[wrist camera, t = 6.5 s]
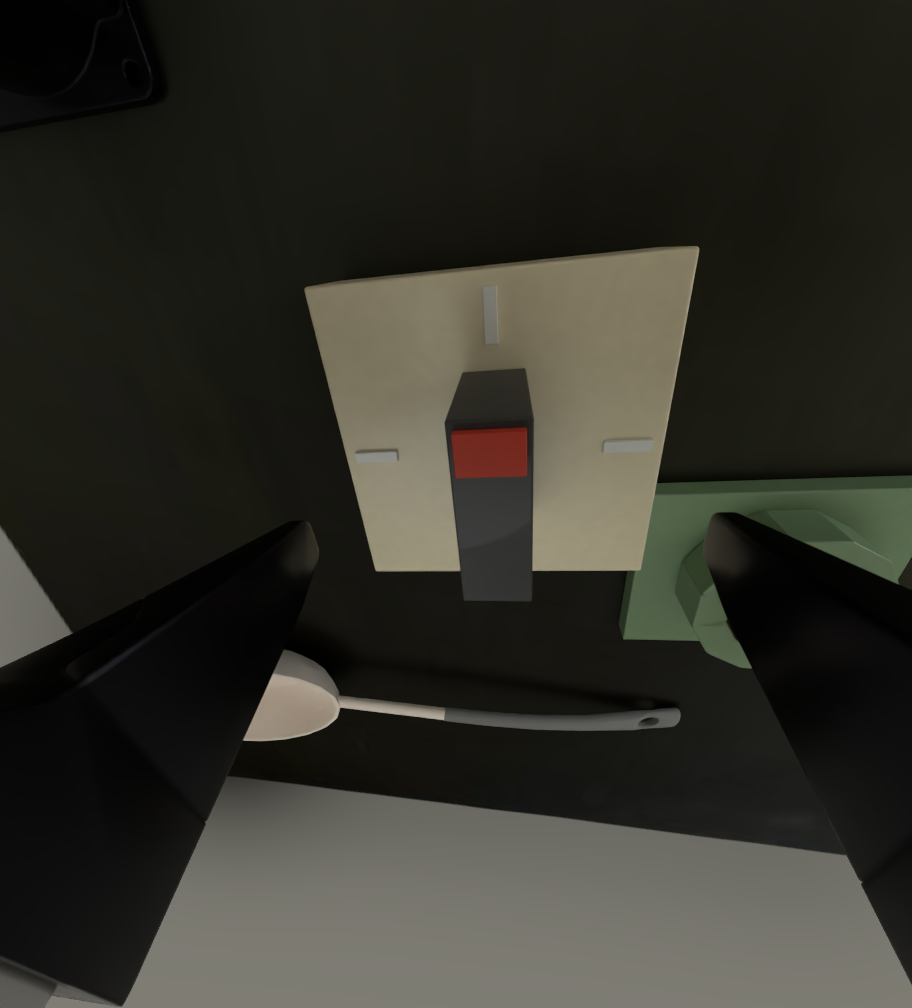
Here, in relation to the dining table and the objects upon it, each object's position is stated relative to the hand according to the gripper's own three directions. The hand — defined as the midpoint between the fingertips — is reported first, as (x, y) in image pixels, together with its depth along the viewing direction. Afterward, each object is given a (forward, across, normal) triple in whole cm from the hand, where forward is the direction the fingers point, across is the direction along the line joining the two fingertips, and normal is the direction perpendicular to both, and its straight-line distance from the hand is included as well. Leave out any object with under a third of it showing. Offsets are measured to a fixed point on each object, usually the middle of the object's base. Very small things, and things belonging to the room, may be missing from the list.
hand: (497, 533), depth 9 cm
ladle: (+8, +5, +16) cm, 18 cm away
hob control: (+7, 0, 0) cm, 7 cm away
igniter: (+7, -10, +7) cm, 14 cm away
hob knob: (+4, 0, 0) cm, 4 cm away
